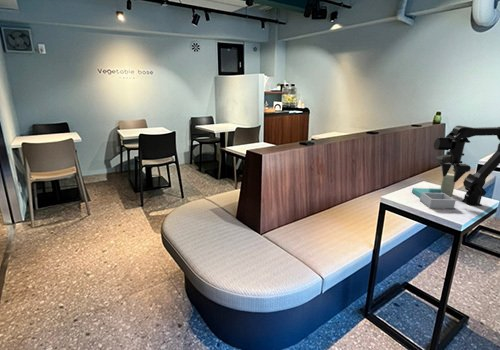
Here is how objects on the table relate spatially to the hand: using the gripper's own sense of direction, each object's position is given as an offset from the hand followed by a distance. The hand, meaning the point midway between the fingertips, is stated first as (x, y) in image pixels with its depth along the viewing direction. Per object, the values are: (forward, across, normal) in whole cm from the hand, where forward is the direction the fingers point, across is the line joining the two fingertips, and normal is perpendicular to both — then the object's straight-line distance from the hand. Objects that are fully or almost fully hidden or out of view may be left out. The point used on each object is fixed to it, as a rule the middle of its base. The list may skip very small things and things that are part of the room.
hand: (449, 179), depth 152 cm
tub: (+13, +5, -7) cm, 16 cm away
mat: (+13, -8, -4) cm, 16 cm away
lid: (+13, -8, -4) cm, 15 cm away
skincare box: (+13, -12, +8) cm, 20 cm away
